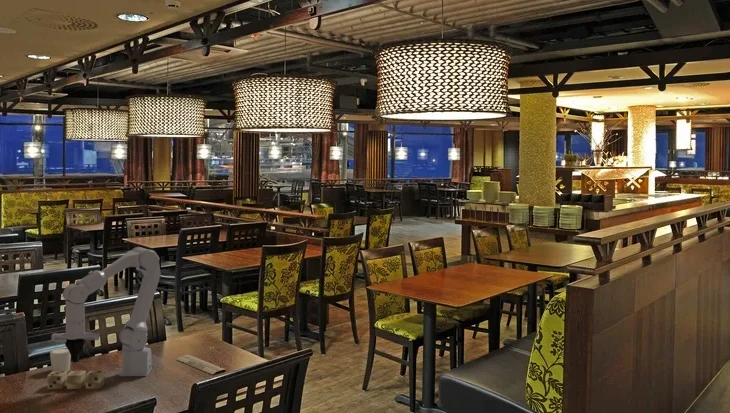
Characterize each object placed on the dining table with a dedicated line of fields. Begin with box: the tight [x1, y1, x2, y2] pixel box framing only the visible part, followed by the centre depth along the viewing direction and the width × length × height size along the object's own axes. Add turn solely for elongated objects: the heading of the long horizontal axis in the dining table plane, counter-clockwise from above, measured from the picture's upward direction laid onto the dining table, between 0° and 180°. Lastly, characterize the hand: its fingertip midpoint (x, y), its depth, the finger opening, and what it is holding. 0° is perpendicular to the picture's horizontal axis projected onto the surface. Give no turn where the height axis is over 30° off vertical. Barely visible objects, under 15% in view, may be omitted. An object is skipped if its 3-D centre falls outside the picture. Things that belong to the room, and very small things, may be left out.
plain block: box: [66, 370, 87, 390], centre depth 204 cm, size 4×4×4 cm
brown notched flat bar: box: [176, 354, 226, 376], centre depth 226 cm, size 24×7×2 cm, turn 48°
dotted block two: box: [85, 369, 106, 389], centre depth 205 cm, size 4×5×5 cm
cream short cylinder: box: [49, 347, 72, 372], centre depth 219 cm, size 7×7×7 cm
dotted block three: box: [47, 371, 68, 390], centre depth 204 cm, size 4×5×5 cm
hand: (75, 361), depth 204 cm, fingers closed
